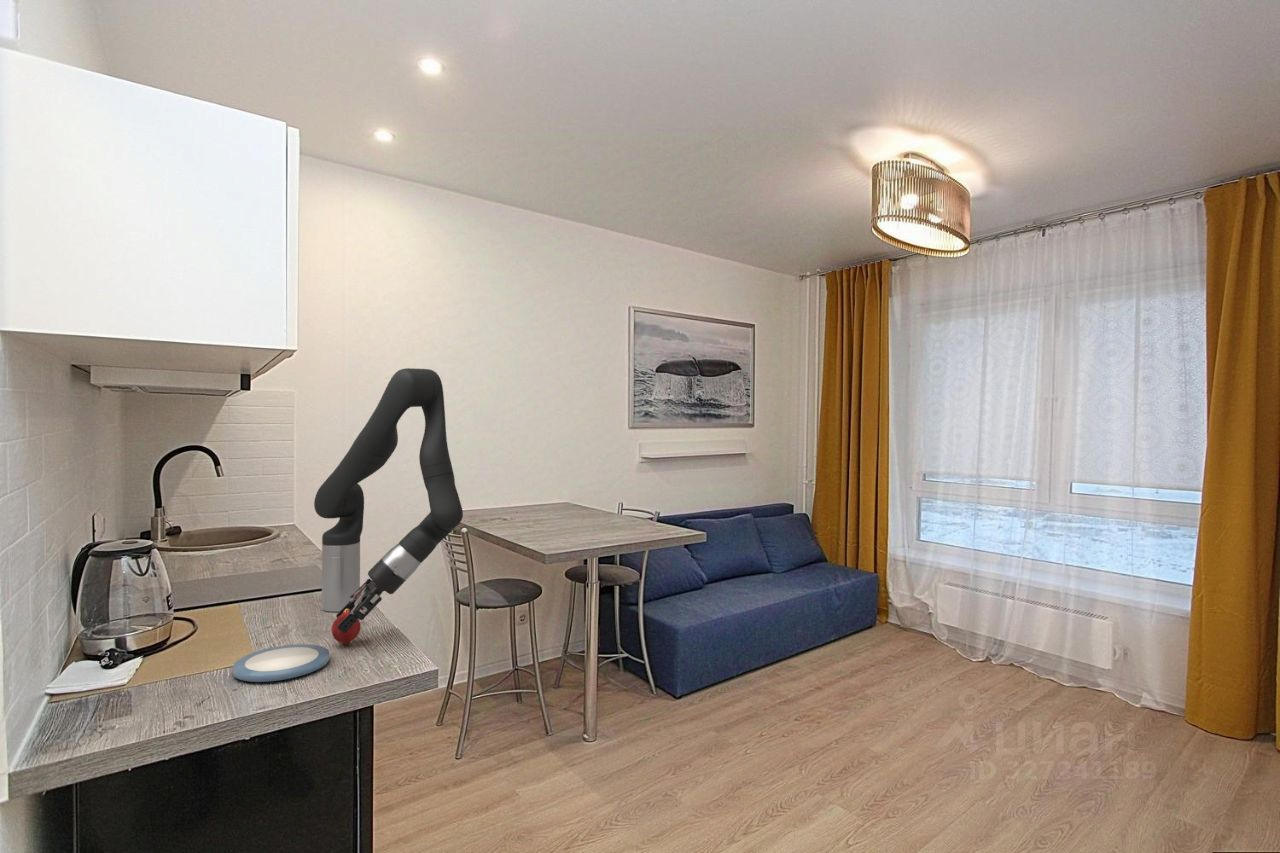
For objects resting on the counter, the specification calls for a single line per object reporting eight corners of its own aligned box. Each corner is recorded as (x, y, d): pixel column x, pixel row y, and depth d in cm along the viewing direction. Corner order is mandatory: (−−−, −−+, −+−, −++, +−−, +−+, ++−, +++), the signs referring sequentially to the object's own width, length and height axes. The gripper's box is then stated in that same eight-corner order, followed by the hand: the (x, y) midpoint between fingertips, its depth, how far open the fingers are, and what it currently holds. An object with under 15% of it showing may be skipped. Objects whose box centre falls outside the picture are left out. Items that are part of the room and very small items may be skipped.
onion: (349, 650, 140) (349, 613, 140) (325, 648, 142) (325, 612, 141) (365, 641, 146) (365, 606, 146) (342, 639, 147) (343, 604, 147)
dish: (237, 660, 134) (237, 651, 134) (328, 648, 142) (328, 639, 142) (227, 691, 119) (227, 681, 119) (330, 675, 127) (330, 666, 127)
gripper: (379, 551, 153) (325, 605, 148) (385, 564, 141) (326, 623, 136) (403, 572, 156) (351, 625, 151) (411, 585, 143) (354, 645, 138)
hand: (339, 624), depth 143 cm, fingers open, 8 cm apart
